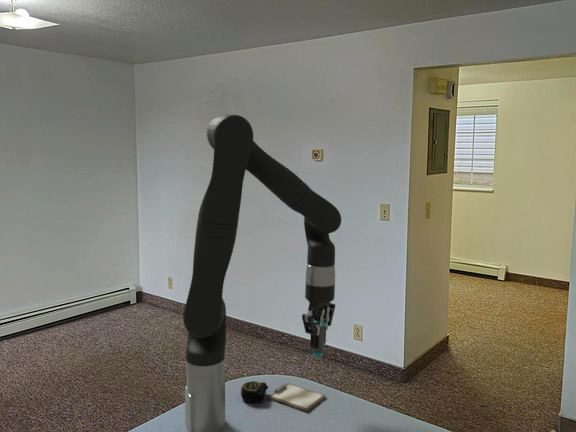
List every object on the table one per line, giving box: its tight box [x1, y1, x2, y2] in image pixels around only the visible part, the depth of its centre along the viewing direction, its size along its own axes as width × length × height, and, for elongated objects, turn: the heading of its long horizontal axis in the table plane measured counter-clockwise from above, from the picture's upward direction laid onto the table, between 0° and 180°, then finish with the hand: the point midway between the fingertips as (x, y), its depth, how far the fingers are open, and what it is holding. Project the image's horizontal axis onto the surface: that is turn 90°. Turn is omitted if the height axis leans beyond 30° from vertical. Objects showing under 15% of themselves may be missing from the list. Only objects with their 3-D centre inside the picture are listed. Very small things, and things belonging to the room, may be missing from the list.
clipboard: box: [268, 383, 327, 414], centre depth 135 cm, size 12×10×2 cm
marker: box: [311, 321, 325, 358], centre depth 129 cm, size 3×3×9 cm
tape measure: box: [240, 380, 269, 403], centre depth 135 cm, size 7×7×4 cm
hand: (318, 345), depth 129 cm, fingers closed on marker, 3 cm apart
